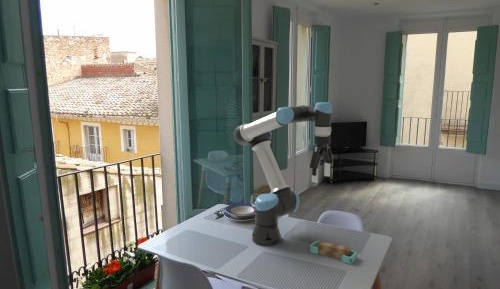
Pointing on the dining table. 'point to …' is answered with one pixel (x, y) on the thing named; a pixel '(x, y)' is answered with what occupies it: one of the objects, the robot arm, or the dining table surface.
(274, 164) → the robot arm
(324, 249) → the batten
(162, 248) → the dining table surface
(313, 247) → the pair of teal brackets
